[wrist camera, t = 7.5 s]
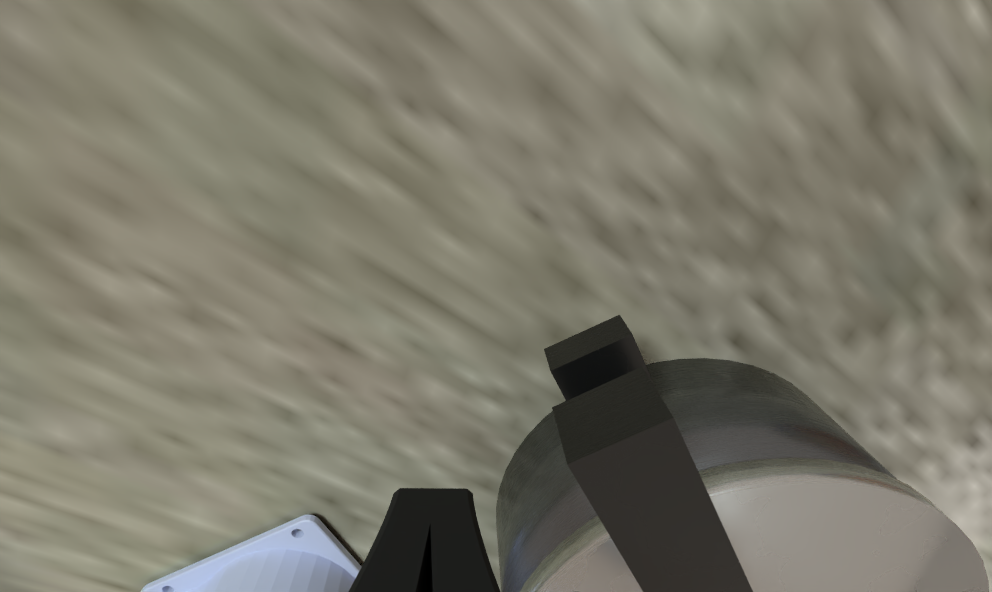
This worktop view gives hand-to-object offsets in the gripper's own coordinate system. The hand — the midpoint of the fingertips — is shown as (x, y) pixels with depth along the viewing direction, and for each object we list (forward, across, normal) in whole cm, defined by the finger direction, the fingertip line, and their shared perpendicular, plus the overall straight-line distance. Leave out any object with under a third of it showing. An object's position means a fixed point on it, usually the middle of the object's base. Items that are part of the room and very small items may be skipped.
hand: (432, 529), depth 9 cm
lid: (+4, -9, +8) cm, 13 cm away
